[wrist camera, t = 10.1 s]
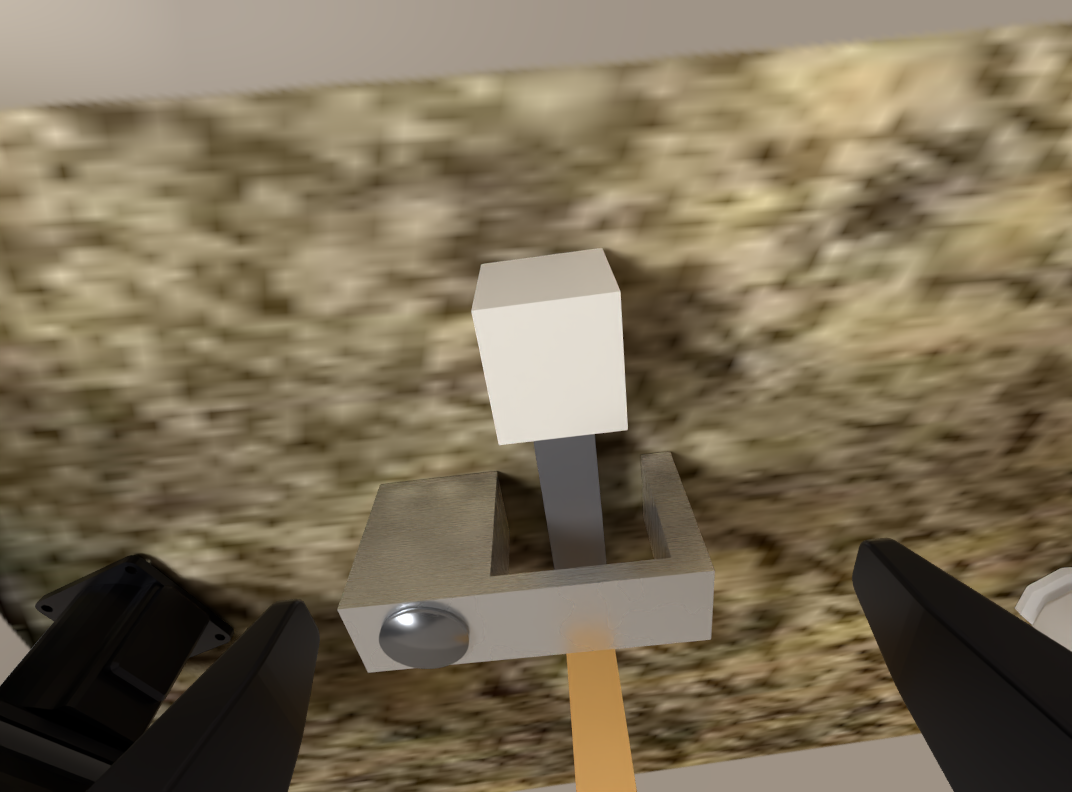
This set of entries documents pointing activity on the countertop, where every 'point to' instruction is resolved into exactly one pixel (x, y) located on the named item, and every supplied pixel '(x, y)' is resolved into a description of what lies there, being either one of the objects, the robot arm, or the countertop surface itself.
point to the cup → (1050, 606)
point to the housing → (515, 580)
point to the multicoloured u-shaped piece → (564, 446)
